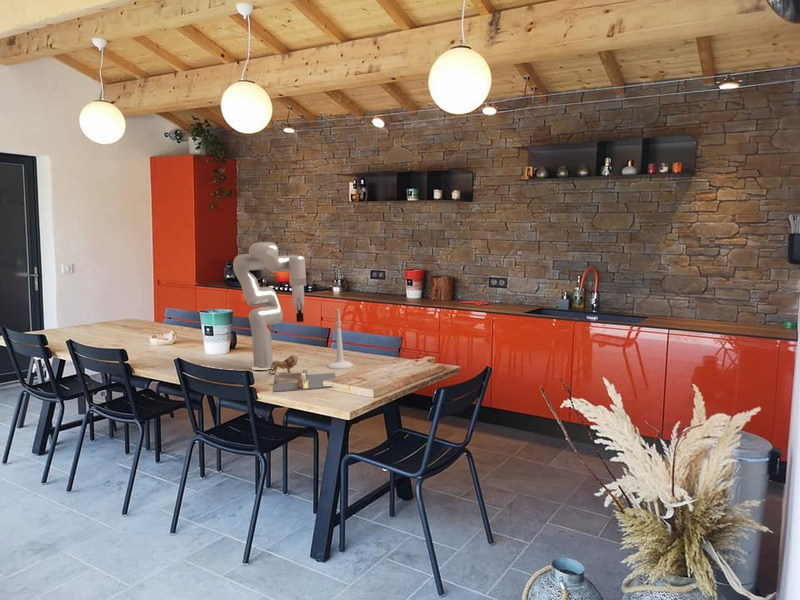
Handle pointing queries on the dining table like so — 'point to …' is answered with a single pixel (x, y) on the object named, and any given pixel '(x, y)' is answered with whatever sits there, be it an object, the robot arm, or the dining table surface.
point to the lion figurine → (285, 364)
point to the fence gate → (301, 380)
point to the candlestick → (339, 348)
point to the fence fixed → (288, 377)
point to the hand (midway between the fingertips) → (300, 321)
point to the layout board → (313, 383)
